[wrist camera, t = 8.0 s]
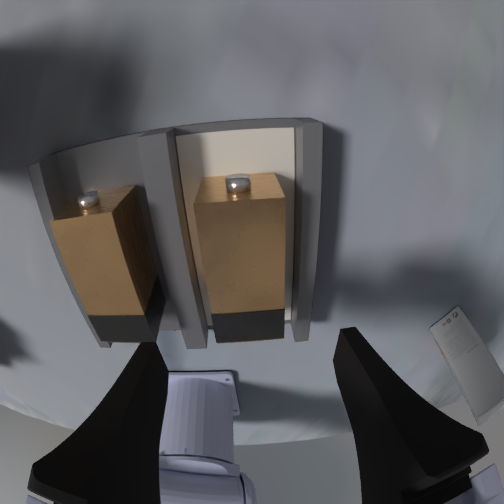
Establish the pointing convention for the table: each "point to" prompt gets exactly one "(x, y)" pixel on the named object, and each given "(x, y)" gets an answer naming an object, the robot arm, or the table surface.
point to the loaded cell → (112, 264)
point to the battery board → (182, 198)
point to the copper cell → (243, 254)
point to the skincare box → (470, 364)
